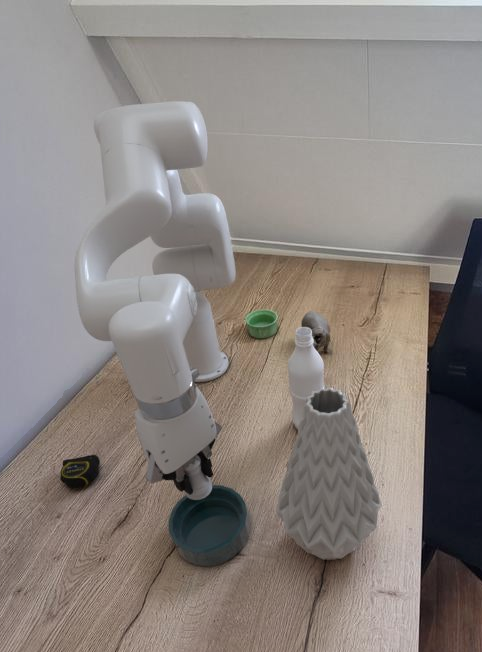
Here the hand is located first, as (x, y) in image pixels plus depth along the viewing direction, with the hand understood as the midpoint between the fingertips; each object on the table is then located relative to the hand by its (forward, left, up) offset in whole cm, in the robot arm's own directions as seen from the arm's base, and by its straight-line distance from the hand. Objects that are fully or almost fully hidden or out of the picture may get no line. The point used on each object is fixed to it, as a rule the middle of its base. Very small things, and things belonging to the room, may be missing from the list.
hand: (195, 480), depth 71 cm
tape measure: (-31, -8, -15) cm, 36 cm away
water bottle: (-3, +31, -15) cm, 35 cm away
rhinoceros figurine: (-19, +53, -15) cm, 58 cm away
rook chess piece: (0, 0, -3) cm, 3 cm away
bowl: (0, 0, -15) cm, 15 cm away
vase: (+17, +12, -15) cm, 26 cm away
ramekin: (-37, +52, -15) cm, 66 cm away
